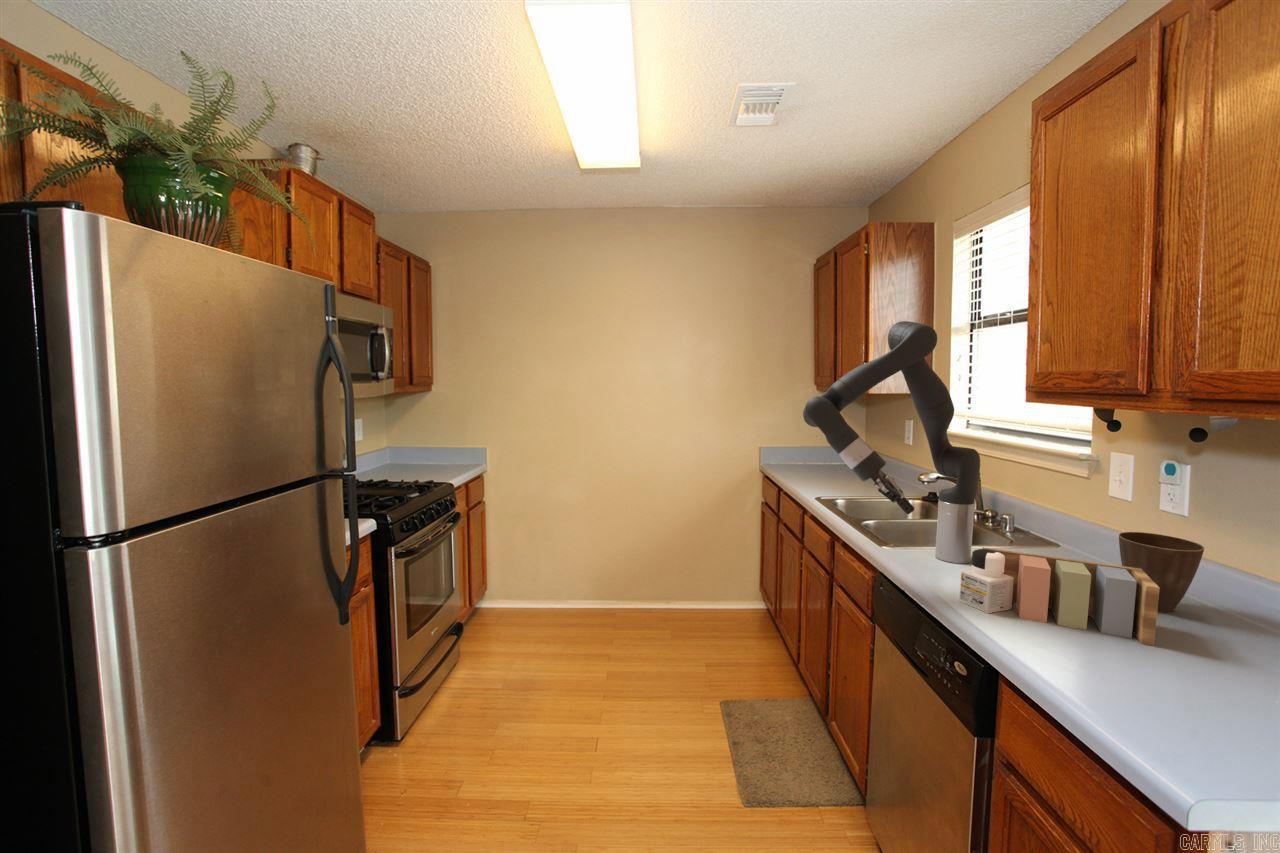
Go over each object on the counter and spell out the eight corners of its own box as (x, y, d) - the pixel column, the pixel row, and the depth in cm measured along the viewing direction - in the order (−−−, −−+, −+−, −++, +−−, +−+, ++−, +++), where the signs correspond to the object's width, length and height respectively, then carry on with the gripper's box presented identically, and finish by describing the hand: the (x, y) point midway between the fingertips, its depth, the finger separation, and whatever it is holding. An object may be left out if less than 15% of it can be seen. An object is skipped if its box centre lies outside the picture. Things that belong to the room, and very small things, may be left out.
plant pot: (1202, 609, 135) (1209, 542, 134) (1191, 625, 126) (1198, 554, 125) (1121, 590, 147) (1127, 528, 145) (1105, 604, 138) (1111, 538, 136)
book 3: (1092, 617, 130) (1097, 565, 129) (1120, 622, 127) (1125, 569, 126) (1101, 632, 122) (1106, 577, 121) (1131, 637, 120) (1136, 581, 119)
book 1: (1016, 604, 137) (1019, 554, 136) (1041, 608, 134) (1045, 558, 133) (1019, 617, 129) (1023, 565, 128) (1046, 622, 127) (1050, 569, 125)
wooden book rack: (979, 594, 142) (982, 547, 141) (1136, 621, 128) (1140, 568, 127) (981, 614, 130) (984, 562, 129) (1154, 646, 116) (1159, 588, 115)
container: (958, 601, 138) (962, 548, 137) (982, 597, 141) (985, 545, 139) (988, 614, 131) (992, 558, 130) (1012, 609, 133) (1016, 554, 132)
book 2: (1052, 610, 133) (1056, 559, 132) (1078, 614, 131) (1083, 563, 130) (1057, 624, 126) (1062, 570, 124) (1086, 629, 123) (1091, 575, 122)
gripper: (870, 452, 141) (922, 507, 136) (876, 446, 153) (925, 497, 148) (846, 471, 144) (897, 526, 139) (854, 464, 156) (901, 515, 151)
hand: (911, 511), depth 144 cm, fingers closed
